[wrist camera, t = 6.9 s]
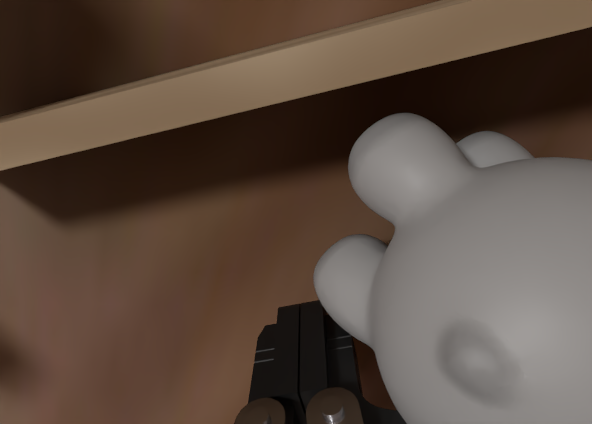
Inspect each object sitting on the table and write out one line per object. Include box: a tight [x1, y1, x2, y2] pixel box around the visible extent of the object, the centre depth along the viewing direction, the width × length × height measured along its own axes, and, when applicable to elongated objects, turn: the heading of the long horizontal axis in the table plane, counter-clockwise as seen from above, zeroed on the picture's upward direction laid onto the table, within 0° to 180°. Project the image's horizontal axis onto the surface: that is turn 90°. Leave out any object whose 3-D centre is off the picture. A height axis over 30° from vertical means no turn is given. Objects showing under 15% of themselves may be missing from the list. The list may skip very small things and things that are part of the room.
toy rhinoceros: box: [314, 113, 592, 424], centre depth 10 cm, size 7×12×8 cm, turn 73°
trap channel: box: [0, 0, 592, 171], centre depth 13 cm, size 24×32×5 cm
